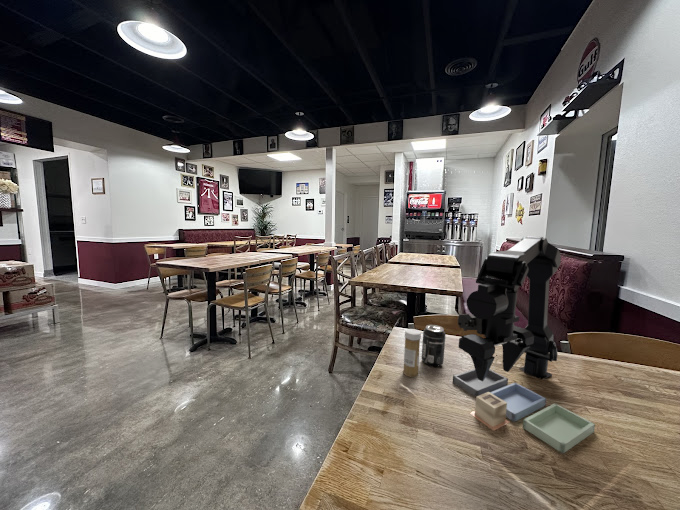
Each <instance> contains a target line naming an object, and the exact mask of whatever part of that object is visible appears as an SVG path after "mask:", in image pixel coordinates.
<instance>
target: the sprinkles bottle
mask: <svg viewBox="0 0 680 510" xmlns="http://www.w3.org/2000/svg"><path fill="white" fill-rule="evenodd" d="M421 337H422V333H421V331H420V330H419V329H415V328H408V329H406V330H405V332H404V338H405V340H404V348H403V349H404V350H403V351H404V352H403V354H404V355H403V370H402V372H403V374H404V376H406V377H409V378H414V377H417V376H419V364H420V342H421Z"/></svg>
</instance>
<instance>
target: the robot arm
mask: <svg viewBox="0 0 680 510" xmlns="http://www.w3.org/2000/svg"><path fill="white" fill-rule="evenodd" d="M561 262H562V256H561V252H560V250H559V248H558V247H556V246H555V245H553V244H552V243H550V242H549V241H548V239H547V238H545V237H544V236H531V235H529V236H528V235H527V236H525V237H524V236H523V237H522V238H521V240H520V241H518V242H517V243H516V244H515V245H513V246H512V247H510V248H509V249H507V250H501V251H500V250H499V251H494V252H493V251H492V252H490V253H489V254H488V255H487V256H486V257H485V258H484V260H483V262H482V265H481V267H480V270H479V272H478V274H477V277H476V279H475V283H476V284H478V286H477V290H475V291H473V292H470V294H469V295H468V297H467V298H466V307H467V310H468V311H469V313H461V314H458V319H457V325H458V328H460V329H462V331H463V332H467V331H476V333H477V334H479V335H483V336H484V337H482V336H479V335H477V334H474V333H471V334H467V335H463V336H461V337H460V338H458V349H460V350H462V351H463V352H464V353H466V354H468V355H469V356H470V358H471V361H472V362H473V366H474V367H473V368H474V369H475V370H476V374H477V377H478V379H479V380H480V381H484V379H485V377H486V375H487V373H488V371H489V369H490V370H491V367H492V364H493V362H494V361H495V358H496V357H495V356H494V354H495V353H496V347H497V346H499V345H501V347H502V369H503V371H505V372H506V373H508V372H510V370H512V367H514V366H515V364H516V363H517V362H518V360H519V359H520V358H521V357H522V356H523V354H525V357H524V364H523V365H524V366H522V367H519V368H518V370H520V371H522V372H524V373H525V374H527V375H529V376H531V377H534V378H537V379H538V380H543V379H544V380H545V379H548V378H550V377H552V376H553V374H552V373H550V372H548V365H549V362H550V363H551V362H557V361H558V348H557V345H556V344H557V343H556V342H555V341H554V332H553V331H552V330H551V328H550V327H549V326H548V314H549V313H548V311H549V299H550V298H549V296H550V294H549V293H550V280H551V278H552V277H553V276H554V274H555V273H556V272H557V271H558V268H560V266H561ZM526 277H527V279H528V280H529V286H528V287H529V289H528V313H527V314H528V315H527V318H528V319H527V325H526V326H525V327H524V328H523V327H519V326H518V325H515V323H516V322H519V321H520V316H518V315H516V307H517V299H518V290H519V288H520V287H523V284H524V282H525V280H526ZM470 314H471V315H470Z"/></svg>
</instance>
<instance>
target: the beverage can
mask: <svg viewBox="0 0 680 510" xmlns="http://www.w3.org/2000/svg"><path fill="white" fill-rule="evenodd" d="M422 331H423V332H422V343H421V345H422V346H421V347H422V349H421V361H422V362H424V364H426V365H427V366H429V367H435V368H437V367H440V366H442V365H443V364H444V359H445V350H446V349H445V348H446V347H445V346H446V332H445V331H444V327H442V326H440V325H436V324H427V325H426V326H425V328H424V329H423V330H422Z"/></svg>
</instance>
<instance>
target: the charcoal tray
mask: <svg viewBox="0 0 680 510" xmlns="http://www.w3.org/2000/svg"><path fill="white" fill-rule="evenodd" d="M452 384H454V385H456V386H457V387H459V388H461V389H462V390H463V391H465V392H467V393H468V394H470V395H472V396H473V397H475V398H476V396H479V395H482V394H484V393H487V392H493V391H495V390H498V389H500V388H502V387H505V386H507V385H509V378H507V377H506V376H503V375H502V374H499V373H498V372H496V371H494V370H492V369H491V368H490V369H489V371H488V373H487V375H486V377H485V379H484V381H480V380H479V379H478V377H477V374H476V370H475V368H472V369H469V370H466V371H463V372H460V373H457V374H454V375H452Z"/></svg>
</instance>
